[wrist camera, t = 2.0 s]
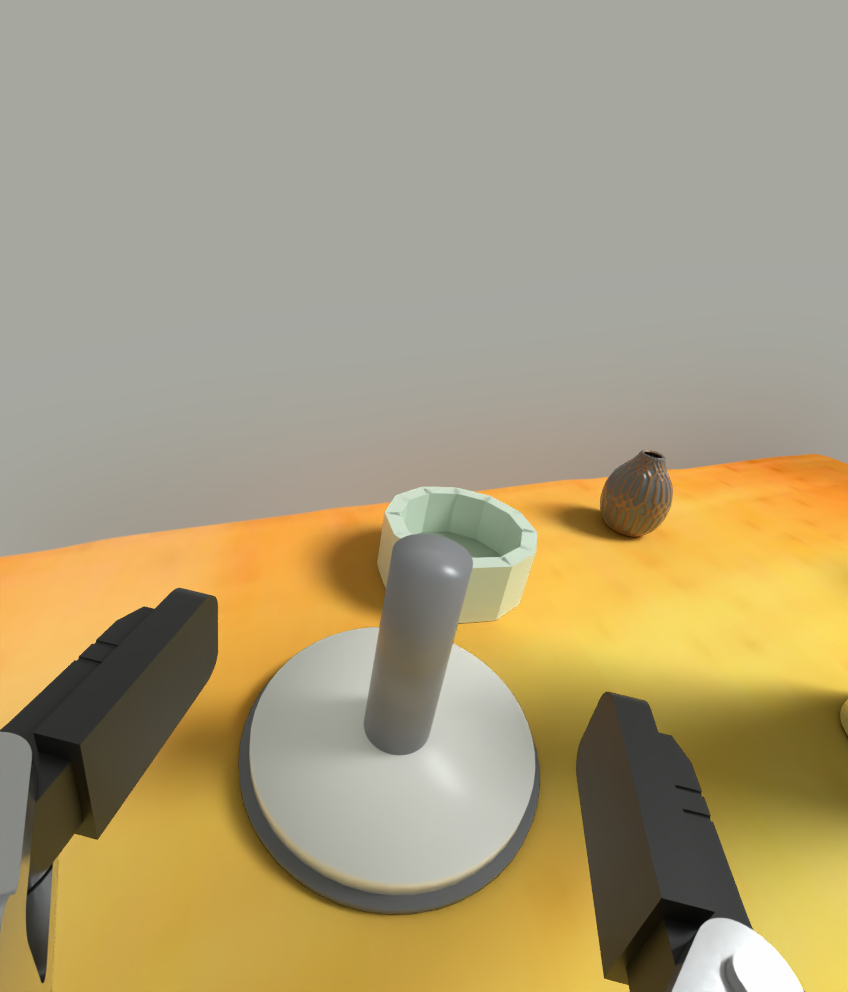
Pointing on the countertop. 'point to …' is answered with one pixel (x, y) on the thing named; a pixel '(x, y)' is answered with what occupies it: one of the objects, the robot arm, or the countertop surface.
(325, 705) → the lid
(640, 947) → the robot arm
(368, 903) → the mat
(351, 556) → the countertop surface
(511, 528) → the bowl
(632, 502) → the vase
